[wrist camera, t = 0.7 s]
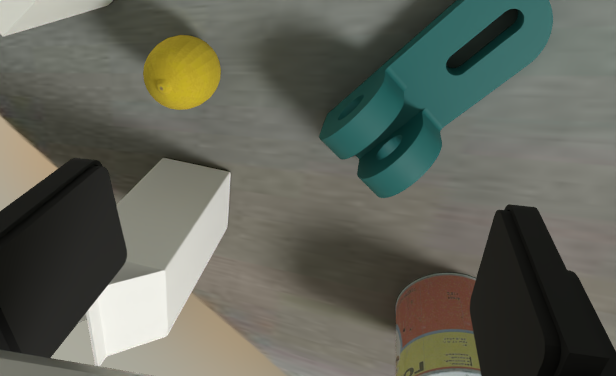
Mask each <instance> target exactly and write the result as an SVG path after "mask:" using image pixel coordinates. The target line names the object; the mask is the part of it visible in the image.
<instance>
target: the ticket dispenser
mask: <svg viewBox="0 0 616 376" xmlns="http://www.w3.org/2000/svg"><path fill="white" fill-rule="evenodd" d="M112 1H113V0H0V34H1V35H2V36H3V37H4V36H7V35H10V34H14V33H17V32H21V31H24V30H27V29H31V28H34V27H37V26H41V25H44V24H47V23H51V22H54V21H58V20H61V19H64V18H68V17H71V16H74V15H78V14H81V13H85V12H88V11H91V10H95V9H98V8H101V7H105V6H108V5H109V4H110V3H111V2H112Z"/></svg>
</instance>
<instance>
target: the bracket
mask: <svg viewBox="0 0 616 376" xmlns="http://www.w3.org/2000/svg"><path fill="white" fill-rule="evenodd" d="M509 9H517V11H518V17H517V19H516V21H515V22H514V24H512V25H511V26H510V27H509V28H507V29H506V30H505V31H504V32H502V33H501V34H500V35H499V36H497V37H496V38H495V39H494V40H492V41H491V42H490V43H489V44H487V45H486V46H485V47H484V48H482V49H481V50H480V51H479V52H477V53H476V54H475V55H474V56H472V57H471V58H470V59H469V60H467V61H466V62H465V63H464V64H462V65H461V66H459V67H457V68H450V67H448V66H447V65H446V62H447V60H448V59H449V57H450V56H452V55H453V54H454V53H455V52H457V51H458V50H459V49H460V48H461V47H463V46H464V45H465V44H466V43H468V42H469V41H470V40H471V39H472V38H474V37H475V36H476V35H477V34H479V33H480V32H481V31H482V30H483V29H485V28H486V27H487V26H488V25H489V24H491V23H492V22H493V21H494V20H496V19H497V18H498V17H499V16H500V15H502V14H503V13H504V12H505V11H507V10H509ZM552 24H553V14H552V8H551V5H550V2H549V0H456V1H455V2H454V3H453V4H452V5H451V6H449V7H448V8H447V9H446V10H445V11H444V12H443V13H442V14H440V15H439V16H438V17H437V18H436V19H435V20H434V21H432V22H431V23H430V24H429V25H428V26H427V27H426V28H425V29H423V30H422V31H421V32H420V33H419V34H418V35H417V36H415V37H414V38H413V39H412V40H411V41H410V42H409V43H407V44H406V45H405V46H404V47H403V48H402V49H401V50H400V51H398V52H397V53H396V54H395V55H394V56H393V57H392V58H390V59H389V60H388V61H387V62H386V63H385V64H384V65H383V66H381V67H380V68H379V69H378V70H377V71H376V72H375V73H373V74H372V75H371V76H370V77H369V78H368V79H367V80H366V81H364V82H363V83H362V84H361V85H360V86H359V87H358V88H356V89H355V90H354V91H353V92H352V93H351V94H350V95H349V96H347V97H346V98H345V99H344V100H343V101H342V102H341V103H339V104H338V105H337V106H336V107H335V108H334V109H333V110H331V111H330V112H329V113H328V114H327V116H326V119H325V121H324V124H323V127H322V130H321V132H320V136H319V138H320V139H321V140H322V141H323V142H324V143H325V144H326V145H327V146H328V147H329V148H330V149H331V150H332V151H333V152H334V153H335V154H336V155H337V156H338V157H339V158H340V159H347V158H350V157H352V156H354V155H356V156H357V157H358V158H359V165H358V172H357V175H358V177H359V178H360V179H361V180H362V181H363V182H364V183H365V184H366V185H367V186H368V187H369V188H370V189H371V190H372V191H373V192H374V193H375V194H376V195H377V196H378V197H381V198H387V197H391V196H393V195H396V194H398V193H400V192H402V191H403V190H405V189H406V188H408V187H409V186H411V185H412V184H413V183H415V182H416V181H417V180H418V179H419V178H420V177H421V176H422V175H423V174H424V173H425V172H426V171H427V170H428V169H429V168H430V167H431V165H432V164H433V163H434V161H435V160H436V158H437V157H438V155H439V153H440V150H441V147H442V141H441V135H440V130H441V129H442V128H443V127H444V126H446V125H447V124H448V123H450V122H451V121H452V120H454V119H455V118H457V117H458V116H459V115H461V114H462V113H463V112H465V111H466V110H467V109H469V108H470V107H471V106H473V105H474V104H476V103H477V102H478V101H480V100H481V99H482V98H484V97H485V96H486V95H488V94H489V93H490V92H492V91H493V90H495V89H496V88H497V87H499V86H500V85H501V84H503V83H504V82H505V81H507V80H508V79H509V78H511V77H512V76H514V75H515V74H516V73H518V72H519V71H520V70H522V69H523V68H524V67H526V66H527V65H528V64H530V63H531V62H532V61H533V60H534V59H535V58H536V57H537V56H538V55H539V54H540V53H541V51H542V50H543V49H544V47H545V45H546V44H547V41H548V39H549V37H550V34H551V30H552Z"/></svg>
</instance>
